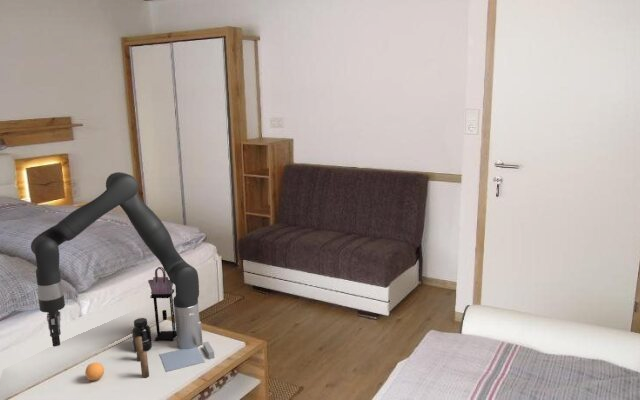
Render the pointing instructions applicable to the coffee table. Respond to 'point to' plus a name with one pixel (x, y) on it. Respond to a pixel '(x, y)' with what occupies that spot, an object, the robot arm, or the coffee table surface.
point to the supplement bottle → (142, 333)
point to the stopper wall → (208, 350)
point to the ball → (94, 371)
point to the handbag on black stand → (162, 289)
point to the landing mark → (181, 358)
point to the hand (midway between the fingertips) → (56, 340)
